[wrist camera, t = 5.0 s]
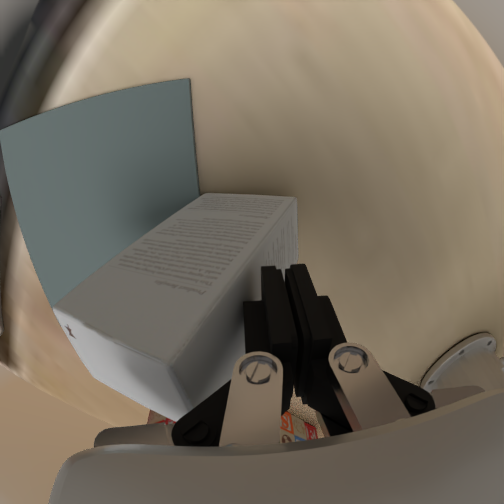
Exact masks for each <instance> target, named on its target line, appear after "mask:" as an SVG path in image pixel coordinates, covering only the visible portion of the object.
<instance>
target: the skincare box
mask: <svg viewBox="0 0 504 504" xmlns="http://www.w3.org/2000/svg"><path fill="white" fill-rule="evenodd" d="M297 261H298V213H297V198H296V197H286V196H270V195H251V194H224V193H205V194H203V195H201V196H200V197H198V198H197V199H195V200H194V201H192V202H191V203H189V204H188V205H186V206H185V207H183V208H182V209H180V210H179V211H177V212H176V213H175V214H173V215H172V216H170V217H169V218H167V219H166V220H165V221H163V222H162V223H160V224H159V225H157V226H156V227H155V228H153V229H152V230H150V231H149V232H148V233H146V234H145V235H143V236H142V237H141V238H139V239H138V240H137V241H135V242H134V243H132V244H131V245H130V246H128V247H127V248H126V249H124V250H123V251H122V252H120V253H119V254H117V255H116V256H115V257H114V258H112V259H111V260H110V261H108V262H107V263H106V264H105V265H103V266H102V267H101V268H99V269H98V270H97V271H95V272H94V273H93V274H91V275H90V276H89V277H88V278H86V279H85V280H84V281H83V282H81V283H80V284H79V285H78V286H76V287H75V288H74V289H73V290H72V291H70V292H69V293H68V294H67V295H66V296H64V297H63V298H62V299H61V300H60V301H59V302H57V303H56V304H55V305H54V306H53V311H54V313H55V315H56V317H57V319H58V321H59V323H60V325H61V327H62V328H63V330H64V332H65V334H66V335H67V337H68V339H69V341H70V342H71V344H72V346H73V347H74V349H75V351H76V352H77V354H78V355H79V357H80V359H81V360H82V362H83V363H84V365H85V366H86V368H87V369H88V371H89V372H90V373H91V375H92V376H93V377H94V378H95V379H97V380H99V381H100V382H102V383H104V384H106V385H107V386H109V387H111V388H113V389H114V390H116V391H118V392H120V393H122V394H123V395H125V396H127V397H129V398H130V399H132V400H134V401H136V402H137V403H139V404H141V405H143V406H145V407H147V408H149V409H151V410H153V411H155V412H157V413H159V414H161V415H163V416H165V417H167V418H169V419H171V420H173V421H176V422H177V421H178V420H179V419H180V418H181V417H183V416H184V415H185V414H187V413H188V412H189V411H191V410H192V409H193V408H195V407H196V406H197V405H199V404H200V403H201V402H203V401H204V400H205V399H206V398H208V397H209V396H210V395H212V394H213V393H214V392H215V391H217V390H218V389H219V388H220V387H222V386H223V385H224V384H225V383H227V382H228V381H229V380H230V379H232V374H233V368H234V365H235V363H236V361H237V360H238V359H239V358H240V357H242V356H243V355H245V335H244V313H243V301H258V300H261V266H274V265H275V266H276V269H281V270H282V274H283V278H284V281H285V269H287V268H290V265H291V264H296V263H297Z"/></svg>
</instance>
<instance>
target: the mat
mask: <svg viewBox="0 0 504 504" xmlns="http://www.w3.org/2000/svg"><path fill="white" fill-rule="evenodd" d="M0 141H1V147H2V154H3V159H4V165H5V170H6V175H7V179H8V184H9V188H10V192H11V196H12V200H13V204H14V208H15V211H16V215H17V218H18V222H19V225H20V228H21V231H22V235H23V238H24V241H25V244H26V246H27V249H28V252H29V255H30V258H31V260H32V263H33V266H34V268H35V271H36V273H37V276H38V278H39V281H40V283H41V285H42V288H43V290H44V292H45V294H46V297H47V299H48V301H49V303H50V305H51V308H52V310H53V306H54V305H55V304H56V303H57V302H59V301H60V300H61V299H62V298H63V297H64V296H66V295H67V294H68V293H69V292H70V291H72V290H73V289H74V288H75V287H76V286H78V285H79V284H80V283H81V282H83V281H84V280H85V279H86V278H88V277H89V276H90V275H91V274H93V273H94V272H95V271H97V270H98V269H99V268H101V267H102V266H103V265H105V264H106V263H107V262H108V261H110V260H111V259H112V258H114V257H115V256H116V255H117V254H119V253H120V252H122V251H123V250H124V249H126V248H127V247H128V246H130V245H131V244H132V243H134V242H135V241H137V240H138V239H139V238H141V237H142V236H143V235H145V234H146V233H148V232H149V231H150V230H152V229H153V228H155V227H156V226H157V225H159V224H160V223H162V222H163V221H165V220H166V219H167V218H169V217H170V216H172V215H173V214H175V213H176V212H177V211H179V210H180V209H182V208H183V207H185V206H186V205H188V204H189V203H191V202H192V201H194V200H195V199H197V198H198V197H200V190H199V180H198V170H197V160H196V149H195V137H194V125H193V112H192V98H191V83H190V79H189V78H187V79H180V80H173V81H166V82H160V83H154V84H148V85H143V86H138V87H133V88H128V89H124V90H119V91H115V92H111V93H107V94H103V95H99V96H95V97H91V98H88V99H84V100H81V101H78V102H74V103H71V104H68V105H65V106H62V107H59V108H56V109H53V110H50V111H47V112H44V113H42V114H39V115H36V116H34V117H31V118H28V119H26V120H23V121H21V122H19V123H16V124H14V125H12V126H9V127H7V128H5V129H3V130H0ZM53 312H54V311H53ZM54 314H55V313H54ZM55 316H56V315H55ZM56 318H57V317H56ZM57 320H58V319H57ZM58 322H59V321H58ZM59 324H60V323H59ZM60 326H61V325H60Z"/></svg>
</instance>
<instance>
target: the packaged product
mask: <svg viewBox="0 0 504 504" xmlns="http://www.w3.org/2000/svg"><path fill="white" fill-rule="evenodd" d="M0 209H1V197H0ZM3 331H4V327H3V320H2V311H1V292H0V336H1V334H2V333H3Z"/></svg>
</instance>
